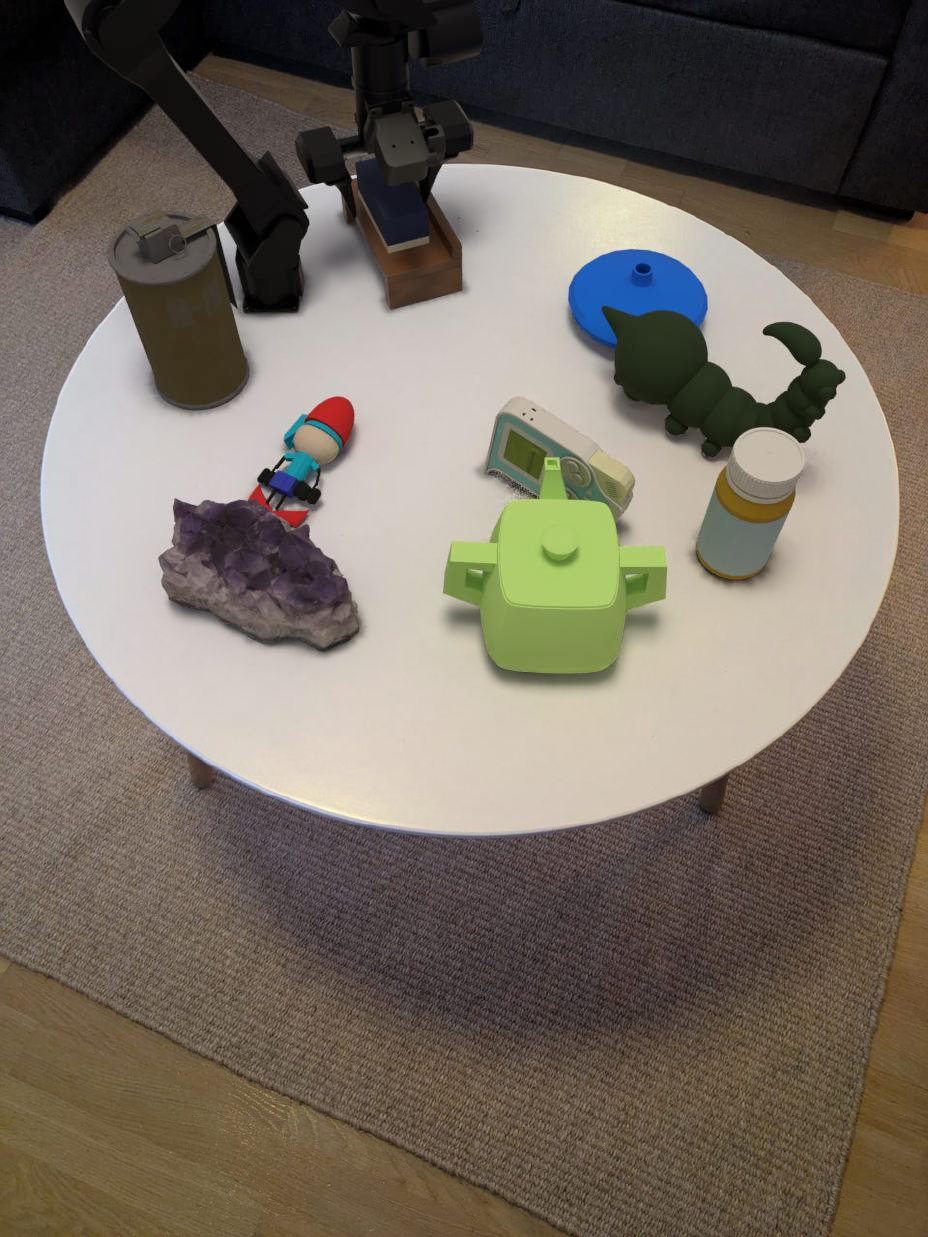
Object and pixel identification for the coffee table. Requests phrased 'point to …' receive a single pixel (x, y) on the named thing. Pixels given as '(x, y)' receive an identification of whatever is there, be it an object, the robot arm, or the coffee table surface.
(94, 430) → the coffee table surface
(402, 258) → the sharpening stone holder
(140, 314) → the canister
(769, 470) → the bottle
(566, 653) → the teapot
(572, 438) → the handheld gaming console
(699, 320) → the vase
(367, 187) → the dark blue rectangular block
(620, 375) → the green caterpillar figure
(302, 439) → the toy figure
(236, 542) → the geode
